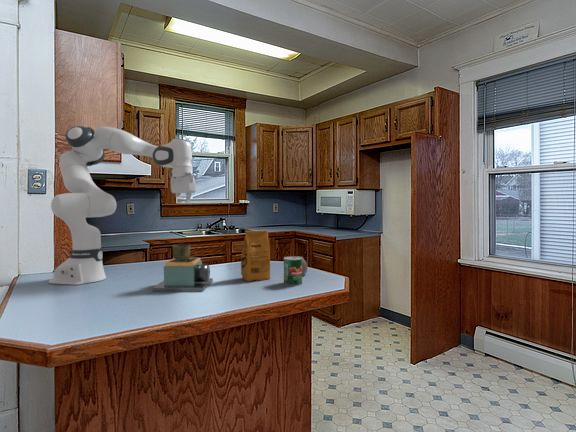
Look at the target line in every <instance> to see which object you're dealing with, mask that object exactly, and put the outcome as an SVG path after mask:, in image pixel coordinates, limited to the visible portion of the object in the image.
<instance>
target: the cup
mask: <svg viewBox="0 0 576 432" xmlns="http://www.w3.org/2000/svg"><path fill="white" fill-rule="evenodd" d="M191 247H192V245H191V243H187V244H186V245H185V243H179V244H178V243H177V244H175V243H174V244H172V245H171V249H172V255H173V258H175V259H176V260H178V261H177V262H186V259H188V258H190V255H191Z"/></svg>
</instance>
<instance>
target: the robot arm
mask: <svg viewBox="0 0 576 432" xmlns="http://www.w3.org/2000/svg"><path fill="white" fill-rule="evenodd" d="M65 141H66V142H67V144H68V145H69V146H70V148H72V149H71V150H69V151H65V152H63V153H62V154H61V155H60V157H59V170H60V175H61V177H62V178H61V179H62V181H63V185H64V187H65V189H66V190H68V191H69V192H66V193H61V194H60V193H59V194H57V195H55V196H54V197H53V198H52V200H51V202H50V203H51V204H50V208H51V211H52V213H53V214H54V216H56V217H57V218H60V219H61V220H62V221H63V222H64V223H65V224H66V225H67V226H68V229H69V231H70V234H71V243H72V249H70V250H68V251H67V252H66V253H67V254H66V255H69V256H68V257H69V258H67V259H66V260H65V261H63V262H62V263H61V264H59V265H58V266H57V267H56V268H55V272H54V277H53V278H50V279H49V280H48V284H54V285H70V286H77V285H82V284H89V283H95V282H100V281H103V280H106V279H107V276H106V273H105V269H104V264H103V247H102V237H101V231H100V229H99V228H98V227H96V226H94V225H91V224H89V223H88V222H87V218H103V217H107V216H111V215H114V214H115V212H116V210H117V201H116V198H115V196H113V195H112V194H110V193H108V192H106V191H104V190H103V189H101V188H100V187H98V186H97V185H96V183H95V182H94V181H93V178H92V177H91V174H90V171H89V168H88V167H91V166H95V165H98V164H101V163H102V162H103V161H104V159H105V157H106V153H105V151H104V149H105V150H110V151H113V152H116V153H118V154H122V155H133V156H143V157H149V158H152V160H153V163H154V164H155V165H157V166H160V167H165V168H168V169H169V168H171V169H172V170H171V171H170V173H169V178H170V191H171V193H172V194H175V198H176V202H177V203H180V204H181V203H182V201H183V199H182V196H181V195H182V194H185V200H184V202H185V204H190V203H191V197H192V194H195V193H196V191H197V187H196V179H195V177H194V175H193V164H192V160H193V153H192V145H191V142H190V141H189V140H187V139H184V138H178V137H175V138H173V139H172V140H171V141H170V142H168V143H166V144H163V145H160V146H157V145H156V144H155V145H154V144H152V143H149V142H148V141H145V140H143V139H141V138H139V137H137V136H135V135H134V134H132V133H131V132H128V131H126V130H124V129H120V128H115V127H112V126H106V125H105V126H100V127H98V128H97V129H96V130H94V128H92V127H89V126H88V127H86V126H82V125H81V126H79V125H78V126H77V125H76V126H72V127H70V128H69V129H68V130H67V131H66V133H65Z"/></svg>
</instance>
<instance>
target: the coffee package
mask: <svg viewBox="0 0 576 432" xmlns="http://www.w3.org/2000/svg"><path fill="white" fill-rule="evenodd" d="M244 235H245V236H244V239H243V244H242V249H241V257H240V258H241V259H240V275H241V276H242V277H241V278H242V279H243V280H244V281H245V282H251V281H252V282H253V281H264V280H269V279H270V278H271V247H270V240H269V233H268V229H262V230H244Z"/></svg>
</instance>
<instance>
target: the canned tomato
mask: <svg viewBox="0 0 576 432" xmlns="http://www.w3.org/2000/svg"><path fill="white" fill-rule="evenodd" d="M302 257H303V256H302ZM302 257H298V256H296V255H295V256H293V255H291V256H284V257H283V285H285V286H287V287H288V286H289V287H297V286H298V287H299V286H301V285H302V284H303V276H302Z"/></svg>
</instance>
